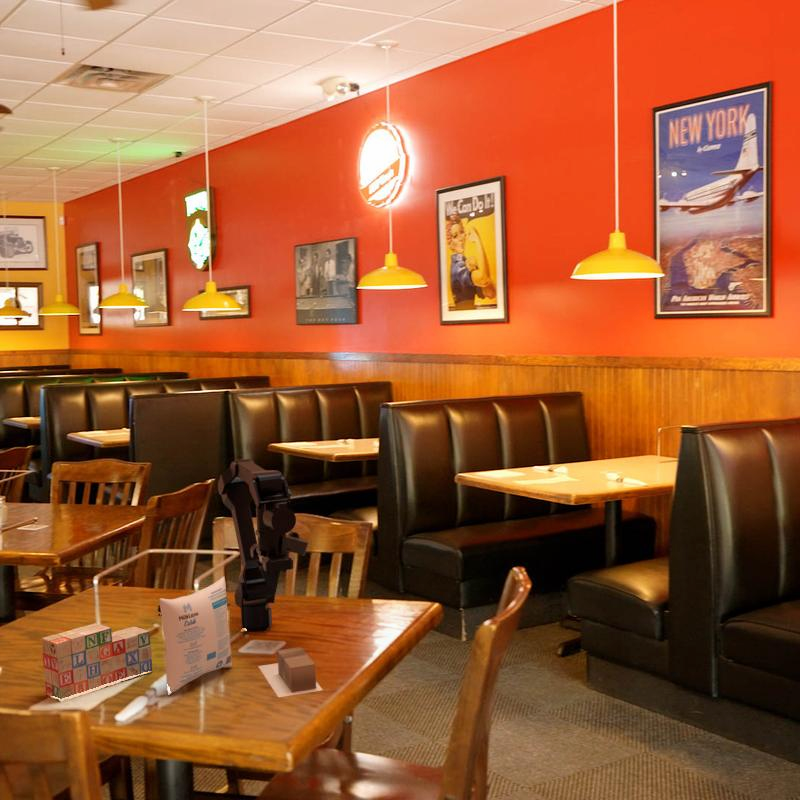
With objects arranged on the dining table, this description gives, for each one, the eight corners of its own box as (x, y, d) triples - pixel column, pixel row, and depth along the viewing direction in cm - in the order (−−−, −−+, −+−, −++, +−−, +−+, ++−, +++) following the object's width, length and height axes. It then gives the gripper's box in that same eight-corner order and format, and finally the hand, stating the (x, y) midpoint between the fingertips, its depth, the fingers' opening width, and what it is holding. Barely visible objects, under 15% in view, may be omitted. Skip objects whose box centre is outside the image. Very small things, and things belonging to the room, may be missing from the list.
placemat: (258, 667, 215) (258, 666, 215) (298, 661, 218) (298, 659, 218) (278, 699, 196) (278, 697, 196) (322, 691, 199) (322, 689, 199)
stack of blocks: (137, 667, 219) (134, 612, 218) (153, 673, 215) (149, 617, 214) (45, 696, 204) (41, 636, 203) (60, 703, 200) (56, 642, 199)
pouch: (246, 670, 214) (241, 578, 212) (177, 699, 198) (171, 600, 197) (219, 664, 218) (214, 574, 217) (151, 692, 203) (145, 595, 202)
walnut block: (277, 650, 209) (290, 667, 198) (300, 646, 211) (315, 664, 200) (278, 673, 210) (291, 692, 198) (301, 669, 211) (316, 688, 200)
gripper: (314, 529, 223) (317, 598, 224) (294, 516, 240) (297, 580, 241) (264, 535, 219) (268, 605, 220) (248, 520, 237) (251, 585, 238)
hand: (273, 593), depth 230 cm, fingers closed
